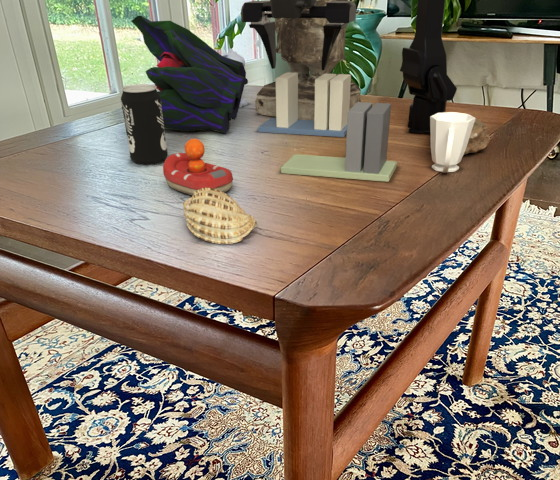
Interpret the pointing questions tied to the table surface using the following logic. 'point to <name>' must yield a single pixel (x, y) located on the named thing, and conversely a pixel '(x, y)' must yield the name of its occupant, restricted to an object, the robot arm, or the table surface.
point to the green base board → (354, 149)
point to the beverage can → (144, 124)
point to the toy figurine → (237, 57)
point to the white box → (286, 99)
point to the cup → (449, 139)
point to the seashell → (217, 217)
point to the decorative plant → (192, 78)
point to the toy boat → (195, 171)
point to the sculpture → (304, 62)
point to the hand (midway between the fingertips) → (298, 69)
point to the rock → (477, 138)
